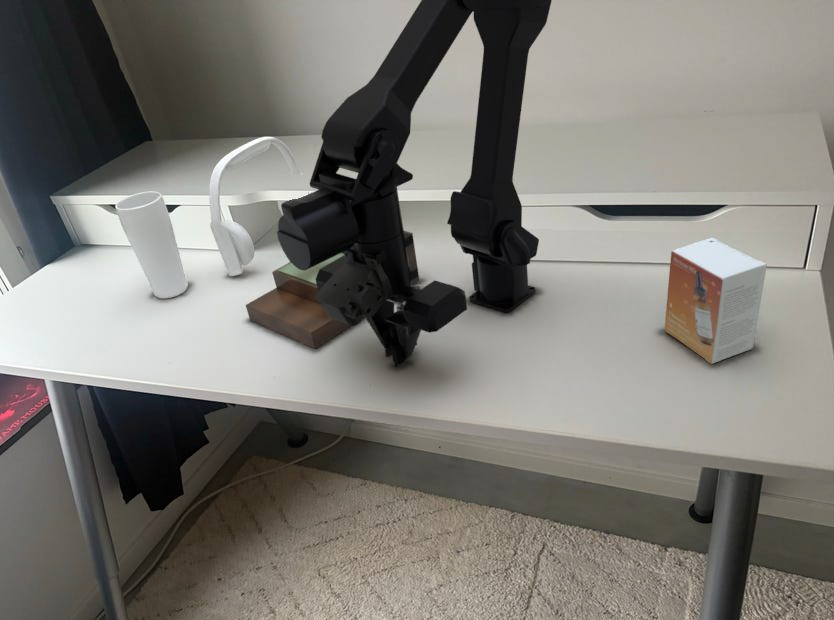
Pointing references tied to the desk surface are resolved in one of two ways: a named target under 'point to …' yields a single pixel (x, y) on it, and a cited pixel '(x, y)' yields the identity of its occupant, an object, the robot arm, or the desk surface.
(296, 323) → the step shelf
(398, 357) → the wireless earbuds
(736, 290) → the small box
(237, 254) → the headset
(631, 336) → the desk surface
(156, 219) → the drinking glass
